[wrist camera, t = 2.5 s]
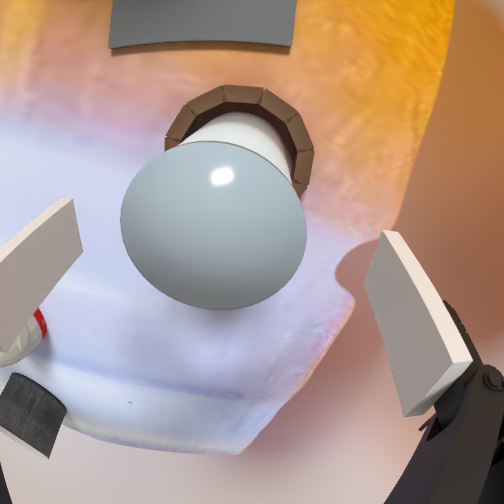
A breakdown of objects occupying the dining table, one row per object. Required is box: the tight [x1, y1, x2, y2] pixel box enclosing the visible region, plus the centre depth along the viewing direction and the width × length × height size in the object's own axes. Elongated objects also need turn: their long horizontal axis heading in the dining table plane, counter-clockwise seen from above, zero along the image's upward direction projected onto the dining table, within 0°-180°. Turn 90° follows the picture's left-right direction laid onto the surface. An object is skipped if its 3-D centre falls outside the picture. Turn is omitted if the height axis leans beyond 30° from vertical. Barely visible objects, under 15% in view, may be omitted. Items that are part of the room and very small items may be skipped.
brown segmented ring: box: [165, 85, 314, 197], centre depth 22 cm, size 11×11×2 cm
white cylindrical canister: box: [120, 111, 307, 310], centre depth 18 cm, size 11×7×13 cm, turn 175°
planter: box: [0, 373, 66, 459], centre depth 47 cm, size 18×18×16 cm
